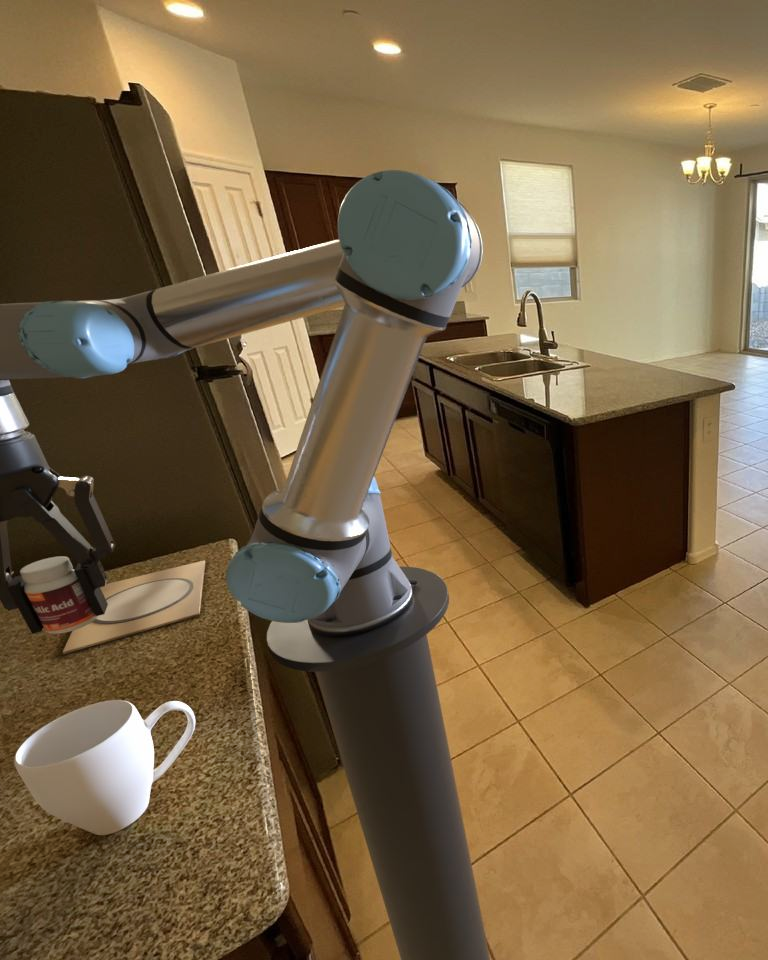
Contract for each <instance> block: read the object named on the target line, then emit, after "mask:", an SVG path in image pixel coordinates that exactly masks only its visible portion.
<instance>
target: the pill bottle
mask: <svg viewBox="0 0 768 960" xmlns="http://www.w3.org/2000/svg"><path fill="white" fill-rule="evenodd" d="M74 570H75V568H74V566H73V564H72V562H71V560H70V558H69V557H68V556H62V555H61V556H53V557H48V558H42V559H40V560H36V561H34V562H31V563H29V564H27V565H24V566H23V567H22V568H21V569H20V570H19V575H20V576H22V578H23V580H24V581H25V582H26V583H27V584H26V585H25V587H24V591H25V593H26V595H27V598H28V599H29V601H30V603H31V604H32V606H33V608H34V610H35V612H36V614H37V616H38V618H39V620H40V622H41V624H42V626H43V630H44V632H46V633H47V634H50V635H57V634H58V635H59V634H65V633H70V632H72V631H73V630H76V629H79V628H81V627H84V626H86V625H87V624H89V623H91V622H92V621H94V620H95V619H96V618H97V617H98V616H96V615H95V613H94V611H93V609H92V607H91V605H90V603H89V601H88V599H87V597H86V595H85V593H84V591H83V589H82V586H81V584H80V582H79V580H78V578H77V576H76V574H75V572H74Z"/></svg>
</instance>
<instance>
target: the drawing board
mask: <svg viewBox="0 0 768 960" xmlns="http://www.w3.org/2000/svg"><path fill="white" fill-rule="evenodd" d="M205 569H206V560H200V561H195V562H191V563H187V564H183V565H180V566H176V567H171V568H167V569H163V570H159V571H155V572H151V573H150V572H149V573H147V574H146V573H145V574H142V575H138V576H134V577H130V578H126V579H121V580H118V581H114V582H109V583H106V585H105V586H103V587H100V588H101V590H102V593H103V595H104V597H105V599H106V601H107V603H108V606H107V608H106V611H105V614H103V615H99V616H98V617H97V618H96V619H95V620H94V621H92V622H91V623H89V624H87V625H86V626H84V627H81V628H79V629H76V630H73V631H71V633H70V635H69V637H68V639H67V641H66V644H65V646H64V648H63V650H62V654H63V655H66V654H70V653H73V652H77V651H80V650H84V649H87V648H90V647H93V646H97V645H100V644H101V645H102V644H104V643H107V642H111V641H115V640H118V639H121V638H125V637H128V636H132V635H136V634H140V633H143V632H146V631H149V630H153V629H156V628H161V627H164V626H167V625H171V624H174V623H177V622H181V621H184V620H187V619H188V620H189V619H192V618H195V617H198V616H200V615H201V606H202V597H203V588H204V581H205V579H204V578H205Z"/></svg>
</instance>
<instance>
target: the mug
mask: <svg viewBox="0 0 768 960" xmlns="http://www.w3.org/2000/svg"><path fill="white" fill-rule="evenodd" d="M171 711H180V712H183V713H184V714H185V716H186V719H187V726H186V728H185V730H184V732H183V733H182V735H181V737H180V738H179V739H178V741H177V743H176V744H175V746H174V747H173V748H172V750H171V751H170V752H169V753H168V754H167V756H166V757H165V759H164V760H163V761H162V762H161V763H160V765H158V766H157V767H155V768H154V766H155V747H154V741H153V737H152V733H151V731H152V729H153V728H154V726H155V724H157V722H158V721H159V719H160V718H161V717H163V715H165V714H166V713H168V712H171ZM195 728H196V716H195V714H194V711H193V710H192V708H191V707H190V706H189V705H187V704H186V703H185V702H182V701H178V700H169V701H167V702H164V703H162V704H161V705H159V706H157V708H156V709H154V710H153V711H152V712H151V713H150V714H149V715H148V716H147V717H146V718H145V719H143V718H142V716H141V714H140V713H139V711H138V709H137V707H136V706H135V705H134V704H133V703H132V702H130V701H127V700H122V699H112V700H111V699H110V700H104V701H99V702H95V703H91V704H88V705H85V706H82V707H79V708H77V709H74V710H72V711H70V712H67V713H65V714H63V715H61V716H59V717H57V718H55V719H54V720H52V721H50V722H48V723H47V724H45V725H43V726H42V727H41V728H39V729H38V730H36V731H35V732H34V733H32V734H31V735H29V737H27V739H26V740H24V742H23V743H22V744H20V746H19V748H18V749H17V750H16V752H15V754H14V757H13V758H14V759H13V764H14V767H15V769H16V772H17V774H18V775H19V776H20V778H21V781H23V783H24V785H25V787H26V788H27V790H28V791H29V793H30V795H31V797H32V798H33V799H34V801H35V802H36V804H38V805H39V806H40V808H41V809H43V810H44V811H45V812H46V813H48V814H50V815H51V816H53V817H55V818H57V819H58V820H61V821H63V822H66V823H68V824H71V826H75V827H77V828H79V829H81V830H83V831H86V832H89V833H91V834H93V835H97V836H107V835H111V834H114V833H117V832H119V831H121V830H123V829H125V828H127V827H128V826H131V824H133V823H134V822H135V821H137V820H138V819H139V818H140V817H141V816H142V815H143V814H144V813H145V812H146V810H147V809H148V807H149V805H150V796H151V790H152V785H153V783H154V782H155V781H157V780H158V779H159V778H161V777H162V776H163V775H164V774H165V773H166V772H167V770H169V768H170V767H171V766H172V764H174V762H175V761H176V759H177V758H178V756H180V754H181V753H182V751H183V750H184V749H185V747H186V746H187V744H188V743H189V741H190V740H191V738H192V736H193V735H194V732H195Z"/></svg>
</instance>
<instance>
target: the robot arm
mask: <svg viewBox="0 0 768 960" xmlns="http://www.w3.org/2000/svg"><path fill="white" fill-rule="evenodd" d="M337 217H338V218H337V237H338V238H337V239H333V240H330V241H325V242H323V243H319V244H315V245H312V246H309V247H304V248H301V249H298V250H293V251H290V252H286V253H283V254H279V255H275V256H272V257H267V258H264V259H261V260H257V261H254V262H253V261H252V262H250V263H246V264H243V265H239V266H235V267H231V268H227V269H224V270H220V271H217V272H214V273H210V274H206V275H203V276H199V277H195V278H192V279H188V280H184V281H181V282H177V283H174V284H173V283H172V284H170V285H167V286H162V287H159V288H156V289H152V290H148V291H147V290H146V291H144V292H141V293H137V294H136V293H135V294H133V295H129V296H125V297H120V298H114V299H113V298H112V299H92V300H91V299H90V300H89V299H88V300H62V301H61V300H51V301H48V300H47V301H40V302H39V301H37V302H14V303H0V603H1V604H2V607H3V608H4V609H6V610H7V611H13V610H17V609H18V610H19V611H18V612H20V615H21V616H22V618H23V620H24V622H25V623H26V625H27V627H28V629H29V631H30V633H31V634H32V635H33V634H37V633H41V632H42V631H43V630H44V627H43V626H42V624H41V622H40V620H39V618H38V616H37V614H36V612H35V610H34V608H33V606H32V604H31V603H30V601H29V599H28V598H27V595H26V593H25V591H24V587H25V585H26V584H27V583H26V582H25V581H24V580H23V578H22V576H21V575H18V576H14V577H12V576H13V574H14V573H15V572H14V570H12V561H11V553H10V552H11V551H10V544H9V543H10V542H9V533H8V525H7V524H8V522H9V521H10V520H12V519H15V518H29V517H32V518H33V519H34V520H35V522H37V523H38V524H41V525H42V526H43V527H44V528H45V529H46V530H47V531H48V532H49V533H50V534H51V535H52V537H54V539H55V540H56V541H57V542H59V544H60V545H61V546H62V547H63V548H64V549H65V551H67V552H68V553H69V554H70V555H71V556H72V557H73V558H74V559H75V561H76V562H78V563H77V565H76V566H75V568H74V572H75V574H76V576H77V578H78V580H79V582H80V584H81V586H82V589H83V591H84V593H85V595H86V597H87V599H88V601H89V603H90V605H91V607H92V609H93V611H94V613H95V615H96V616H99V615H103V614H105V611H106V608H107V606H108V603H107V601H106V599H105V597H104V595H103V593H102V590H101V588H100V587H103V586H105V585H106V584H107V582H108V576H107V574H106V571H105V569H104V567H103V564H102V562H101V560H103V559H105V558H109V557H110V556H112V554H113V553H114V550H115V548H116V542H115V540H114V538H113V536H112V533H111V532H110V529H109V527H108V525H107V523H106V520H105V517H104V516H103V513H102V511H101V509H100V507H99V504H98V502H97V500H96V497H95V495H94V485H95V479H94V478H93V477H92V476H90V475H84V476H83V475H82V476H81V477H69V476H61V475H60V474H59V473H58V472H56V471H55V470H53V469H52V468H51V467H50V466H49V464H48V462H47V459H46V457H45V455H44V454H43V451H42V449H41V447H40V444H39V442H38V440H37V438H36V436H35V434H34V433H31V432H30V431H27V430H26V431H25V429H27V428H28V427H29V426H30V421H29V419H28V418H27V416H26V415H25V412H24V410H23V408H22V406H21V404H20V402H19V399H18V398H17V395H16V394H15V392H14V388H13V387H12V384H11V382H10V380H11V381H12V380H25V379H26V380H27V379H28V380H29V379H51V378H52V379H53V378H55V379H56V378H57V379H58V378H74V379H88V378H91V377H99V376H107V375H114V374H118V373H120V372H123V371H125V369H126V368H127V366H130V365H132V364H136V363H137V364H138V363H143V362H148V361H149V362H150V361H158V360H159V361H160V360H164V359H168V358H173V357H176V356H179V355H181V354H183V353H184V352H187V351H190V350H192V349H196V348H199V347H203V346H206V345H211V344H214V343H217V342H220V341H224V340H227V339H231V338H235V337H238V336H243V335H245V334H249V333H253V332H257V331H260V330H263V329H266V328H267V329H268V328H271V327H274V326H277V325H282V324H285V323H288V322H292V321H296V320H299V319H303V318H307V317H310V316H313V315H317V314H320V313H325V312H328V311H332V310H336V309H338V308H342V307H343V309H342V311H341V314H340V317H339V320H338V324H337V327H336V330H335V332H334V336H333V339H332V341H331V345H330V348H329V350H328V353H327V357H326V359H325V362H324V366H323V369H322V371H321V375H320V377H319V381H318V383H317V387H316V390H315V392H314V396H313V399H312V402H311V406H310V408H309V411H308V414H307V417H306V420H305V423H304V427H303V429H302V433H301V435H300V438H299V441H298V445H297V447H296V451H295V454H294V456H293V459H292V462H291V466H290V468H289V472H288V474H287V477H286V480H285V483H284V487H283V488H281V489H278V490H275V491H272V492H271V493H269V494H268V495H267V496H266V497H265V499H264V500H263V501H262V504H261V507H260V511H259V514H258V517H257V520H256V523H255V526H254V528H253V532H252V534H251V537H250V539H249V540H248V542H247V544H246V545H243V546H242V547H241V548H239V549H238V550H237V551H236V552H235V553H234V555H233V557H232V559H231V560H230V561H229V563H228V565H227V567H226V571H225V583H226V586H227V589H228V591H229V593H230V594H231V596H232V598H234V600H236V601H238V602H240V606H241V607H242V608H244V609H245V610H246V611H247V612H249V613H251V614H253V615H255V616H257V617H259V618H261V619H264V620H267V621H271V622H272V621H275V622H282V623H296V622H302V621H304V620H307V621H308V624H309V627H310V629H311V630H312V631H313V632H315V633H316V634H318V635H321V636H326V637H349V636H355V635H360V634H364V633H367V632H370V631H373V630H376V629H378V628H381V627H383V626H385V625H387V624H389V623H391V622H392V621H394V620H395V619H397V618H398V617H400V616H401V615H402V614H403V613H404V612H405V611H406V610H407V609H408V608H409V607H410V605H411V603H412V601H413V593H412V588H411V585H416V584H417V580H414V579H407V578H406V576H405V575H404V573H403V572H402V570H401V569H400V567H399V566H400V565H399V564H398V563H397V561H396V560H395V558H394V556H393V552H392V547H391V541H390V536H389V533H388V527H387V522H386V517H385V513H384V507H383V502H382V498H381V495H382V493H381V490H379V486H378V483H377V479H376V477H375V474H376V471H377V470H378V466H379V464H380V461H381V458H382V456H383V453H384V450H385V448H386V445H387V443H388V440H389V439H390V438H389V437H390V435H391V432H392V430H393V427H394V424H395V422H396V419H397V417H398V414H399V412H400V409H401V405H402V403H403V400H404V399H405V395H406V392H407V390H408V388H409V384H410V382H411V380H412V377H413V375H414V371H415V369H416V367H417V364H418V361H419V358H420V356H421V353H422V350H423V348H424V345H425V342H426V340H427V338H428V337H430V336H431V335H434V334H437V333H440V332H442V331H445V330H446V329H447V325H448V324H449V320H450V318H451V316H452V314H453V310H454V307H455V306H456V303H457V301H458V297H459V295H460V293H461V290H462V289H464V287H465V286H467V285H468V284H469V283H470V282H471V281H472V280H473V279H474V277H475V276H476V274H477V273H478V272H479V269H480V268H481V267H480V266H481V264H482V260H483V253H484V252H483V240H482V235H481V232H480V229H479V225H477V223H476V220H475V218H474V217H473V215H471V213H470V212H469V210H468V209H467V208H466V207H465V206H464V205H463V204H462V203H460V202H459V201H458V199H457V198H456V197H455V196H454V195H453V194H452V192H450V191H449V190H448V189H447V188H445V187H443V186H442V185H440V184H439V183H437V181H435V180H433V179H429V178H427V177H425V176H423V175H420V174H418V173H414V172H412V171H407V170H401V169H385V170H380V171H377V172H373V173H371V174H369V175H366V176H365V177H363V178H361V179H360V180H358V181H357V182H356V183H355V184H354V185H353V186H352V187H351V188H350V189H349V190H348V192H347V193H346V194H345V196H344V198H343V200H342V202H341V204H340V207H339V211H338V216H337ZM59 488H60V489H63V490H64V492H65V494H66V495H67V496H68V497H71V498H74V499H73V500H74V504H75V506H76V509H77V511H78V513H79V515H80V517H81V520H82V522H83V524H84V526H85V528H86V530H87V532H88V535H89V537H90V539H91V542H92V543H93V546H94V547H93V546H92V545H91V544H90V543H89V542H88V540H87V539H85V537H84V536H83V535H82V534H81V533H80V532H79V531H78V530H77V529H76V527H74V525H73V524H72V523H71V522H70V521H69V520H68V519H67V517H65V516H64V514H63V513H62V512H61V511H60V508H59V507H58V506H57V504H56V503H54V501H53V498H54V496H55V494H56V493H57V490H58V489H59Z"/></svg>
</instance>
